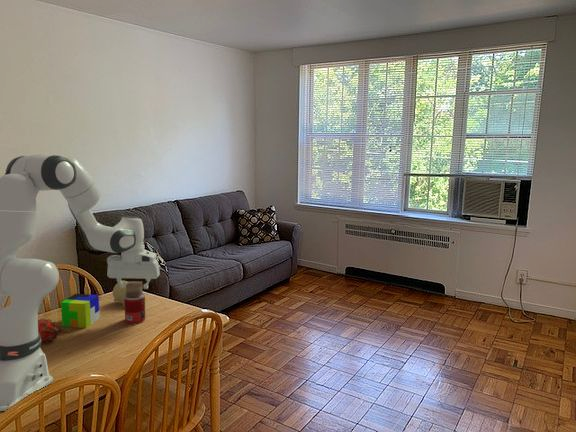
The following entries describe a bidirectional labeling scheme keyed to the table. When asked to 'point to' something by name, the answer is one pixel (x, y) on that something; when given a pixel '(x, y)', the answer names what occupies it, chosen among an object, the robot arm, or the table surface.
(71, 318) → the puzzle toy
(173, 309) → the table surface
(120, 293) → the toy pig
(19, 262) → the robot arm
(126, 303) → the canned food
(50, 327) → the dragon fruit
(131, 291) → the walnut cube
